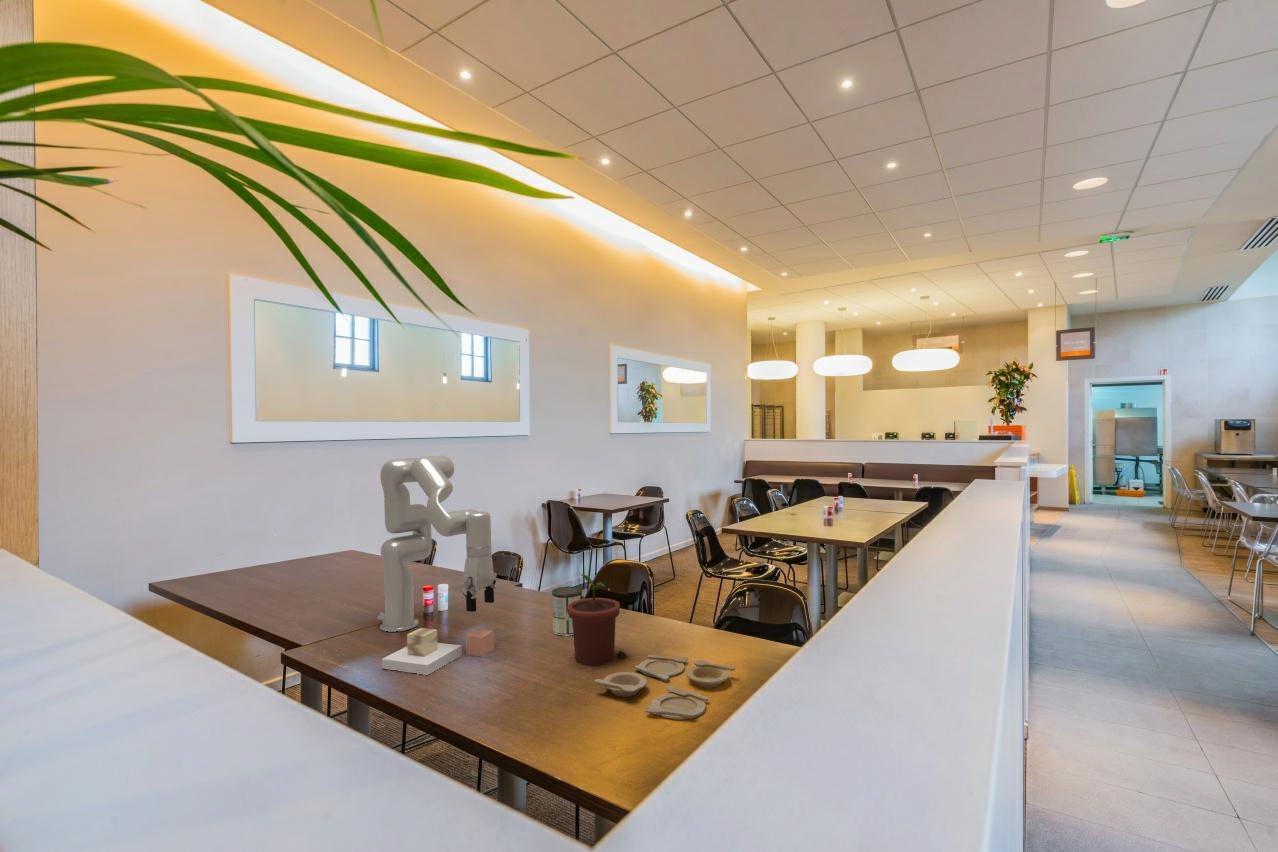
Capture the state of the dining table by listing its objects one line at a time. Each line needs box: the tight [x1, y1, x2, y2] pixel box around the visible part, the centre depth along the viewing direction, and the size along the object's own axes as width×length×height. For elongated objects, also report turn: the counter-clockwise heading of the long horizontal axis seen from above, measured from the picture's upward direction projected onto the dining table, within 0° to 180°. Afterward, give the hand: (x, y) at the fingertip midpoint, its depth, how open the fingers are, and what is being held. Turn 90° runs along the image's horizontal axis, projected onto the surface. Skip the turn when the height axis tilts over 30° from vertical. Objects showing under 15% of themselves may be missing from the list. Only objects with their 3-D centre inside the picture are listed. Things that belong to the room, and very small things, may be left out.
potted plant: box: [568, 573, 628, 667], centre depth 184 cm, size 18×22×25 cm
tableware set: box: [594, 654, 736, 721], centre depth 160 cm, size 35×29×4 cm
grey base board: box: [381, 642, 463, 676], centre depth 180 cm, size 16×16×3 cm
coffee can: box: [551, 586, 583, 637], centre depth 206 cm, size 10×10×14 cm
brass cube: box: [406, 627, 438, 657], centre depth 180 cm, size 6×6×6 cm
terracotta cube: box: [465, 628, 495, 657], centre depth 188 cm, size 6×6×6 cm
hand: (480, 606), depth 188 cm, fingers open, 9 cm apart
